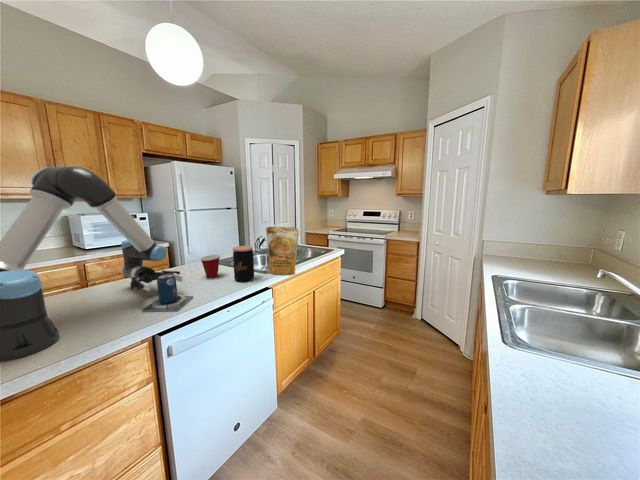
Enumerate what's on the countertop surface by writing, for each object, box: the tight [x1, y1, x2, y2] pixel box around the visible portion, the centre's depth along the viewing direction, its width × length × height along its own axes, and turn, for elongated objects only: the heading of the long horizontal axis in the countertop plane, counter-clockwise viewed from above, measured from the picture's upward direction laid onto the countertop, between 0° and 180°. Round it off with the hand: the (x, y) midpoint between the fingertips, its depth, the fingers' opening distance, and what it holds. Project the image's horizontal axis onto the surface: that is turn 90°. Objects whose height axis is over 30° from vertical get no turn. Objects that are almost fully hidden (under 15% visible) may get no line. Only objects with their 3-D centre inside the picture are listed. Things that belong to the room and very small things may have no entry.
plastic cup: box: [199, 254, 221, 279], centre depth 146 cm, size 11×11×12 cm
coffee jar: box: [232, 245, 255, 283], centre depth 141 cm, size 11×11×18 cm
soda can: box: [156, 274, 179, 305], centre depth 109 cm, size 7×7×12 cm
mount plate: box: [141, 294, 194, 313], centre depth 110 cm, size 14×14×2 cm
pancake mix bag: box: [265, 226, 299, 276], centre depth 150 cm, size 7×19×28 cm, turn 80°
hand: (165, 283), depth 110 cm, fingers open, 13 cm apart
